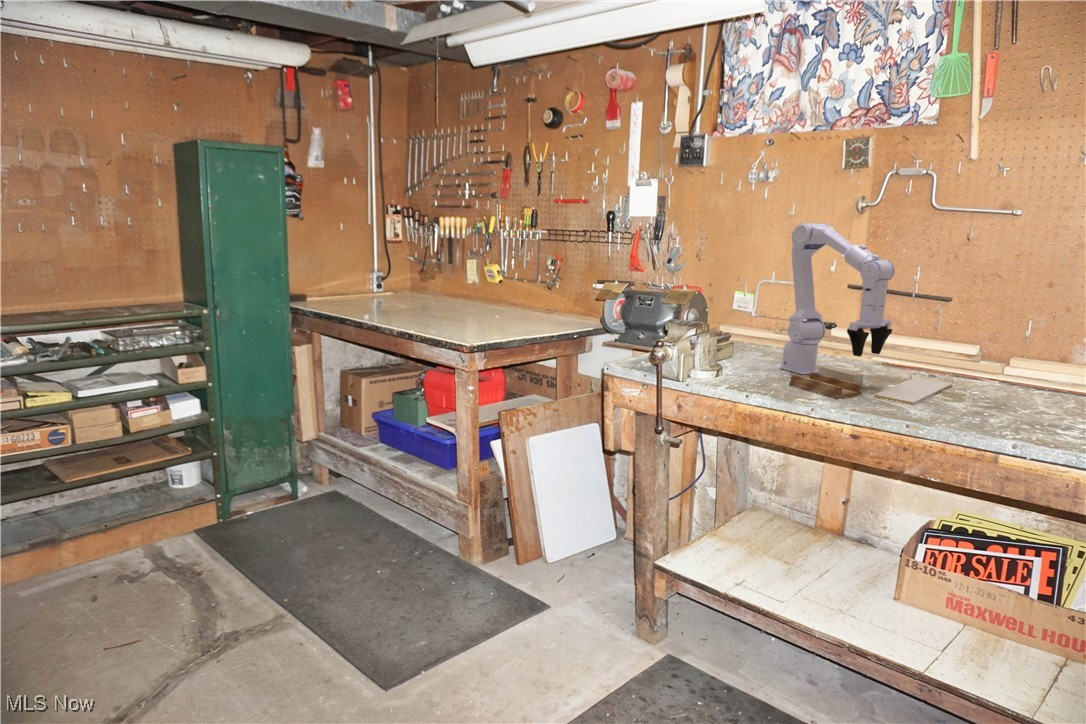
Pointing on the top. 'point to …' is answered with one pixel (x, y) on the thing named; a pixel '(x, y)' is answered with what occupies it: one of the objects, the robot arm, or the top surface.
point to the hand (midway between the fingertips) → (866, 354)
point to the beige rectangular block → (841, 374)
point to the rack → (826, 385)
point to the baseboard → (913, 390)
